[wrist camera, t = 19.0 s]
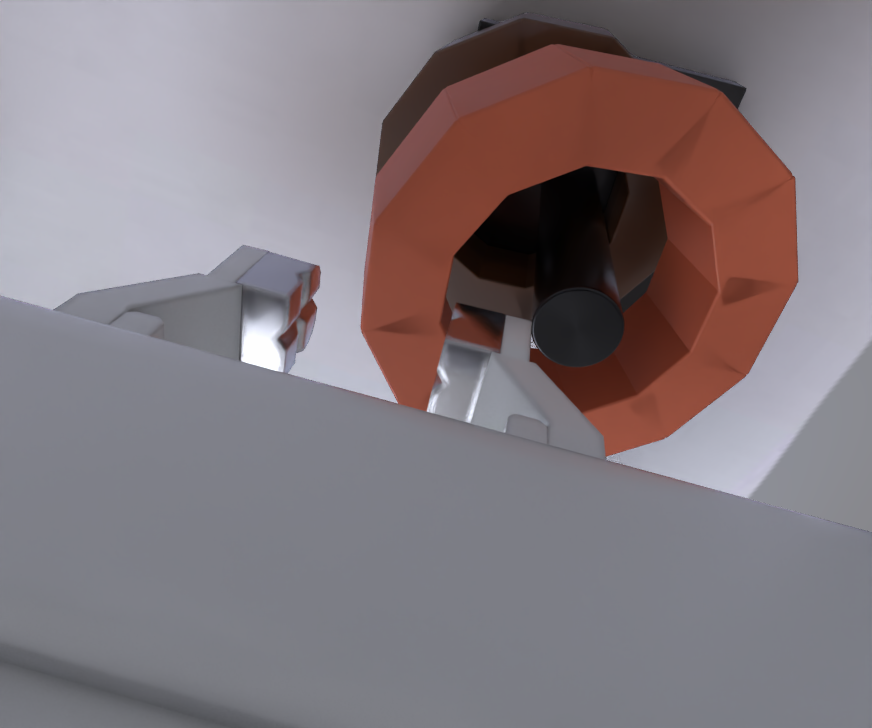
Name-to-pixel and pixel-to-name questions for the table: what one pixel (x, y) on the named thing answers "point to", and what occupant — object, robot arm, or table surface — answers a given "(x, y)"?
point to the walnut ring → (504, 269)
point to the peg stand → (573, 253)
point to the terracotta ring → (567, 151)
